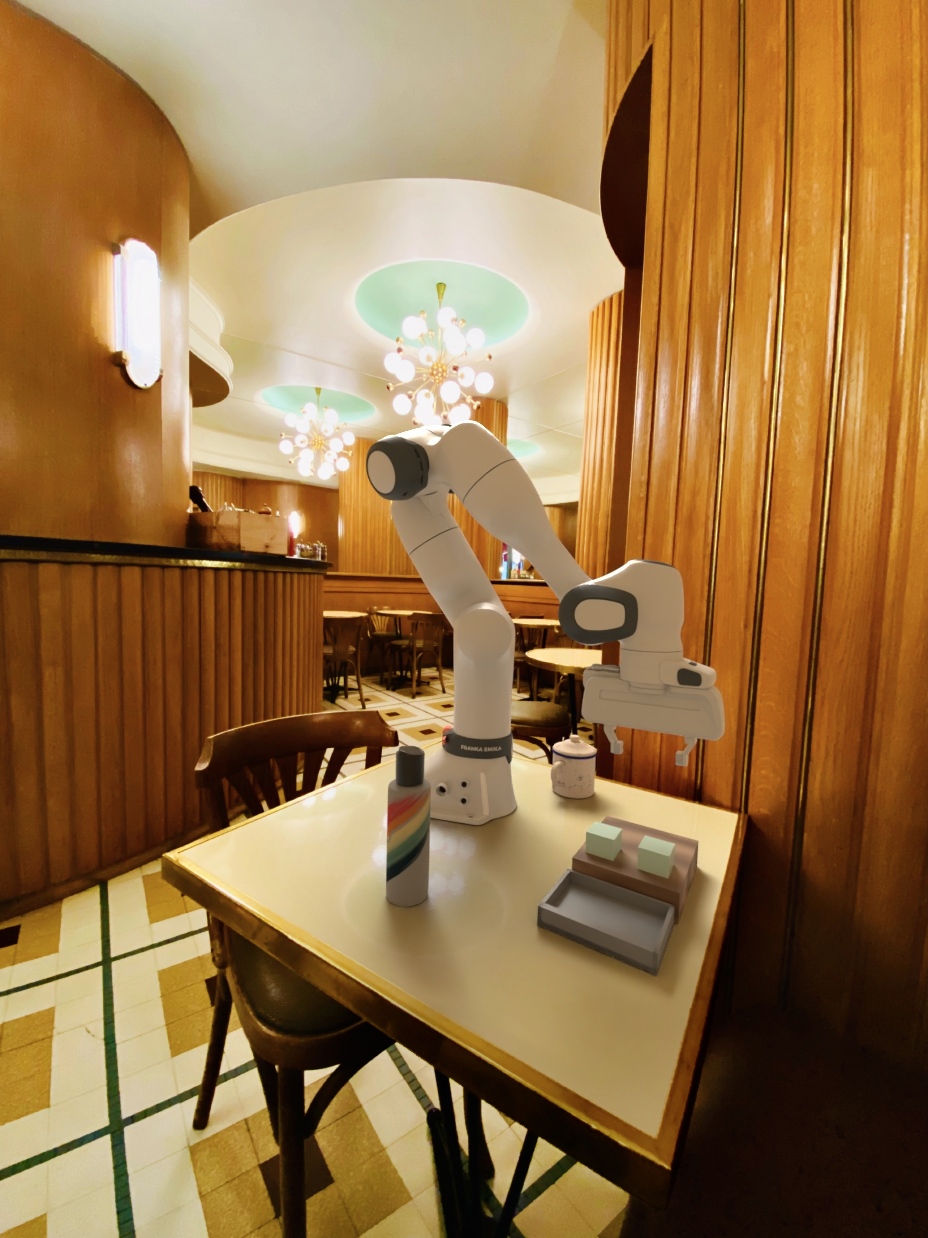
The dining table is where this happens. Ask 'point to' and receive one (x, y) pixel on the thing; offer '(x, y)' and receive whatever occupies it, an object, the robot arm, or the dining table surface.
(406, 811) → the lotion bottle
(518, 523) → the robot arm
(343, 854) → the dining table surface
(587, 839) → the mint block
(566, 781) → the teacup with lid
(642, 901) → the charcoal tray
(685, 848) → the walnut bench
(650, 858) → the mint block
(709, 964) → the dining table surface
